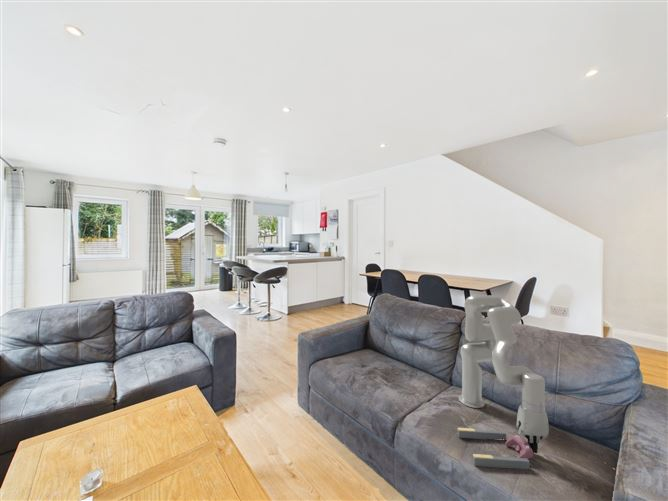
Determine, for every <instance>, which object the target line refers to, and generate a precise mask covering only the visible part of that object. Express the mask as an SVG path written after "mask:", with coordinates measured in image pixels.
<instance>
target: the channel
mask: <svg viewBox="0 0 668 501" xmlns="http://www.w3.org/2000/svg"><path fill="white" fill-rule="evenodd" d="M457 437H458V438H459V439H472V440H473V439H474V440H487V439H502V440H501V441H503V439H504V440H506V441H507V433H506V431H503V430H487V429H475V428H469V427H457ZM472 464H473V465H474V466H475V467H488V468H489V467H490V468H502V469H505V468H506V469H515V470H517V469H518V470H528V469H529V470H530V460H529V459H526V458H518V457H510V456H495V455H494V456H493V455H492V454H481V453H478V454H477V453H473V454H472Z"/></svg>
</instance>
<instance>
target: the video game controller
mask: <svg viewBox="0 0 668 501" xmlns="http://www.w3.org/2000/svg"><path fill="white" fill-rule="evenodd" d="M504 445H505V446H506V447H509V448H510V447H513V446H514V449H515V451H516V452H518V453H519V456H518V457H517V458H526V459H528V460H529V459H530V458H532V457H533V456H534V453H533V451H532V449H531V448H530V446H529V444H528V441H527V440H526V439H524V437H522V436H520V435H517V434H515V435H513V436H512V437H511V438H509V439H506V441H505V444H504Z"/></svg>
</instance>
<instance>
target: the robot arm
mask: <svg viewBox="0 0 668 501" xmlns="http://www.w3.org/2000/svg"><path fill="white" fill-rule="evenodd" d="M463 306H464V311H465V321H464V338H465V340H467V341H468V342H470V343H464V344H463V345H462V346H460V356H461V364H462V365H461V369H462V370H461V371H462V372H461V373H462V374H461V375H462V376H461V394H459V395H458V400H459V402H461V404H463V405H464V406H467V407H470V408H474V409H481V408H485V405H486V404H485V400H484V399H483V398H482V397H483V396H482V388H483V387H482V386H483V383H482V382H483V379H482V378H483V372H482V367H481V366H480V365H479V362H480V363H481V362H492V366H493V369H494V372H495V375H496V378H497V379H498V381H499V382H500V383H501V384H502V385H505V386H521V404H519V407H518V410H517V415H516V428H517V429H518V432H517V434H518V436H520V437H521V438H526V439H527V443H528V444H529V446H530V448H531V449H532V451H533V454H538V448H539V446H538V444H540V442H541V440H542V439H546V438H548V435H549V431H550V430H549V427H550V426H549V419H548V414H547V411H546V408H547V407H548V403H547V402H546V380H545V379H544V377H543V376H542V375H539V374H538V373H535V372H533V371H532V370H531V369H530V368H529V367H527V366H525V365H507V362H506V360H505V355H506V353H507V350H508V349H509V347H510V346H513V345H514V344H516V343H517V341H518V340H517V336H516V334H515V330H514V328H513V326H512V325H518V324H519V323H520V322H521V320H522V316H521V314H520V311H519V310H518V309H517V308H516V307H515V306H514V305H513V304H511V303H510V302H509V301H507V300H505V298H503V297H501V296H499V295H494V294H492V295H489V294H488V295H484V294H483V295H481V294H479V295H469V296H468V297H467V298H466V299H465V301H464V305H463ZM482 313H487V319H488V322H489V323H484V316H483V314H482Z"/></svg>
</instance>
